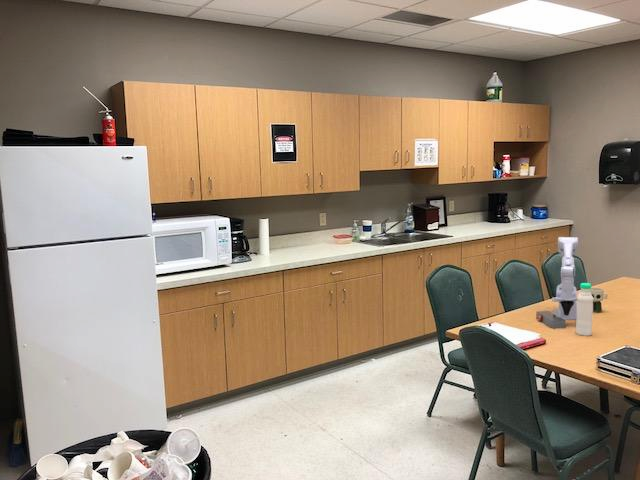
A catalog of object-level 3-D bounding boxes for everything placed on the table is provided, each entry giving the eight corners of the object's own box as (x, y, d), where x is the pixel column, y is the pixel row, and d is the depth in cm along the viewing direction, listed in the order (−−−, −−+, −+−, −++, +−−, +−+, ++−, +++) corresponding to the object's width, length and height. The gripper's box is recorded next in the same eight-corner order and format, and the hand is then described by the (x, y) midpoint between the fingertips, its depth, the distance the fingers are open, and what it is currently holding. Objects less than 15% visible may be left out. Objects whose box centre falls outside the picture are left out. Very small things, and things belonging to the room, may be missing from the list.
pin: (557, 319, 276) (557, 313, 275) (560, 321, 273) (560, 315, 272) (537, 320, 276) (537, 314, 275) (539, 321, 272) (539, 315, 272)
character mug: (583, 311, 290) (584, 289, 288) (585, 308, 296) (586, 286, 294) (605, 314, 284) (606, 291, 282) (607, 311, 289) (608, 288, 288)
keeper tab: (555, 314, 268) (555, 308, 267) (560, 317, 263) (560, 310, 263) (554, 314, 268) (554, 308, 267) (558, 317, 263) (558, 310, 263)
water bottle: (585, 337, 247) (587, 285, 244) (572, 333, 253) (574, 283, 250) (595, 334, 250) (597, 284, 247) (581, 330, 256) (583, 281, 253)
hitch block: (549, 318, 279) (549, 309, 278) (565, 328, 261) (565, 318, 261) (536, 318, 279) (536, 309, 278) (551, 328, 261) (552, 318, 260)
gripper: (556, 291, 260) (556, 317, 261) (585, 290, 260) (584, 316, 262) (550, 288, 267) (549, 313, 268) (578, 287, 267) (577, 312, 269)
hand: (566, 315), depth 266 cm, fingers closed
